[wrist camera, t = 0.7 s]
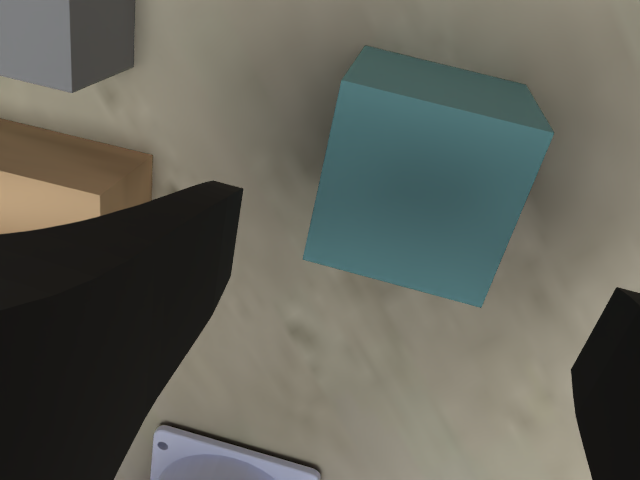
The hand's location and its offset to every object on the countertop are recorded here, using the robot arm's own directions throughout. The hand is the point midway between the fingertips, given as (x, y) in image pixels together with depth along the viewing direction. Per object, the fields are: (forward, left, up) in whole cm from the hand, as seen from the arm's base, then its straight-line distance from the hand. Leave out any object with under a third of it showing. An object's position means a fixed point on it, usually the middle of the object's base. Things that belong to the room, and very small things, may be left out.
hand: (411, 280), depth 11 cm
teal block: (0, 0, -9) cm, 9 cm away
